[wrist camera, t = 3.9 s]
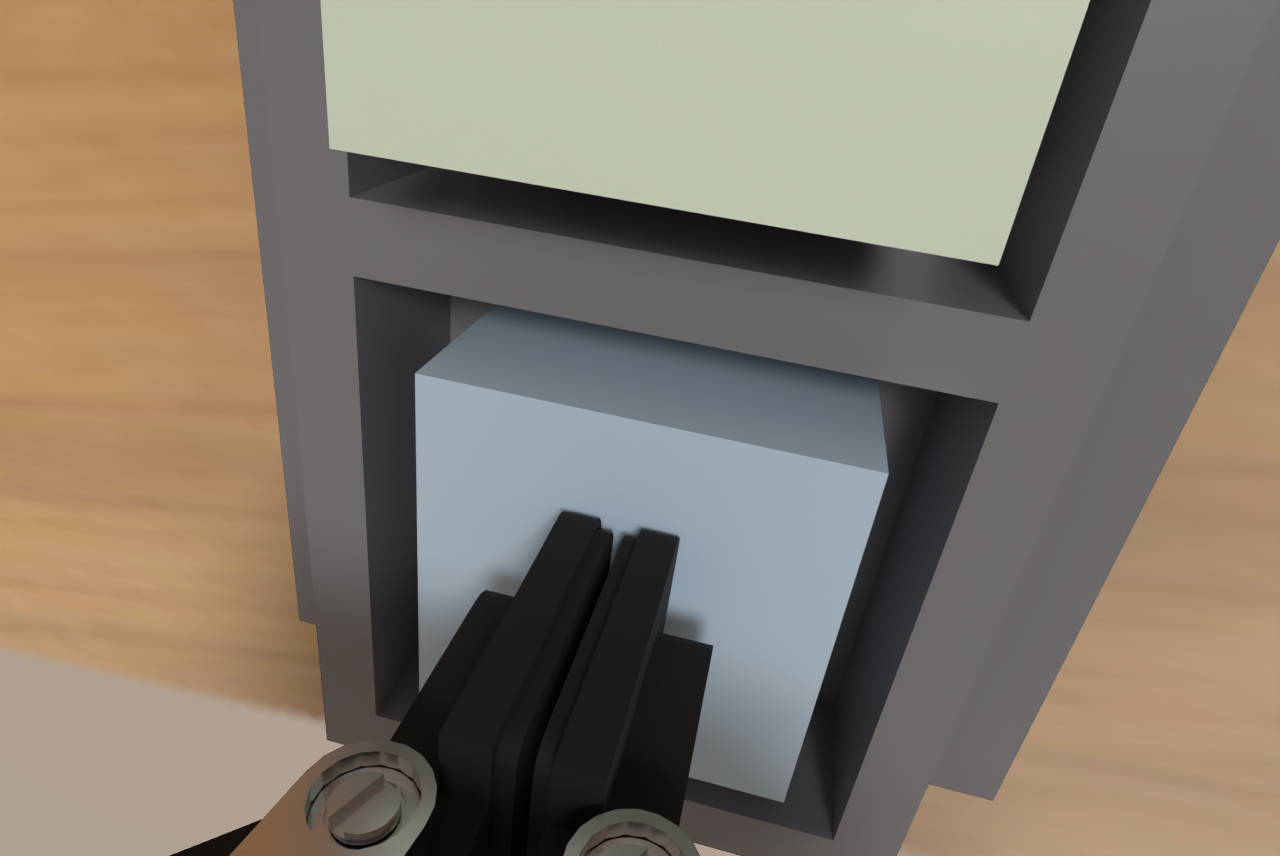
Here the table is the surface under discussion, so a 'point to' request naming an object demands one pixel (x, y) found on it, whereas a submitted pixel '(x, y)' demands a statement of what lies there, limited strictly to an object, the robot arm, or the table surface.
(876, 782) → the grey compartment tray
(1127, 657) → the table surface
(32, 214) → the table surface
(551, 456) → the blue key
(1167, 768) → the table surface
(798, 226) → the sage key
